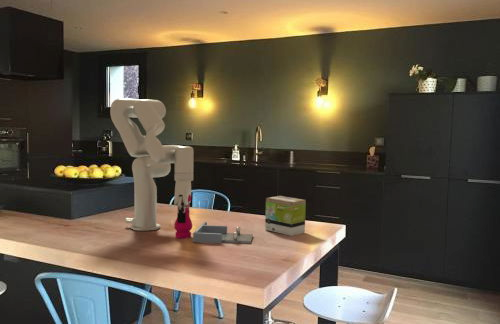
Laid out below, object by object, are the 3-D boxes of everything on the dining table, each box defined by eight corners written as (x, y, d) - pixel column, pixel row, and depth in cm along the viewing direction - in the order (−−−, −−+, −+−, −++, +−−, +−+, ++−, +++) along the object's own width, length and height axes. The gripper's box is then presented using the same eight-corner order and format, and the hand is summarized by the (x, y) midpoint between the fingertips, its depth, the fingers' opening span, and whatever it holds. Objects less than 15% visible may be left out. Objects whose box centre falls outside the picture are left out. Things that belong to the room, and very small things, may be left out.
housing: (193, 242, 173) (193, 233, 173) (204, 229, 196) (204, 221, 195) (221, 243, 172) (221, 234, 172) (229, 230, 195) (229, 222, 195)
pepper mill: (188, 239, 178) (189, 189, 176) (171, 238, 179) (171, 188, 178) (194, 235, 185) (195, 187, 184) (178, 234, 186) (178, 186, 185)
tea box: (264, 230, 197) (264, 197, 196) (278, 227, 204) (279, 195, 203) (291, 236, 187) (292, 201, 186) (305, 232, 194) (306, 199, 193)
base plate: (219, 242, 174) (219, 232, 173) (224, 235, 186) (224, 225, 185) (250, 243, 173) (250, 233, 172) (252, 236, 185) (253, 227, 184)
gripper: (179, 174, 189) (179, 217, 191) (169, 178, 172) (168, 225, 173) (197, 175, 189) (196, 217, 190) (188, 179, 172) (187, 225, 173)
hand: (183, 220), depth 182 cm, fingers closed on pepper mill, 5 cm apart
